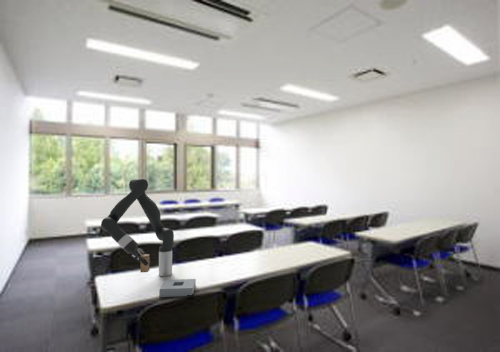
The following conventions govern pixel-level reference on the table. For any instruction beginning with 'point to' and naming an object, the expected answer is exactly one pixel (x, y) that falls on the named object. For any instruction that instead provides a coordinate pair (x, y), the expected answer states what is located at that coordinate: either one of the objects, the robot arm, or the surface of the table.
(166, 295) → the dock socket
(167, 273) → the robot arm
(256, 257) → the table surface
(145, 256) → the walnut peg
